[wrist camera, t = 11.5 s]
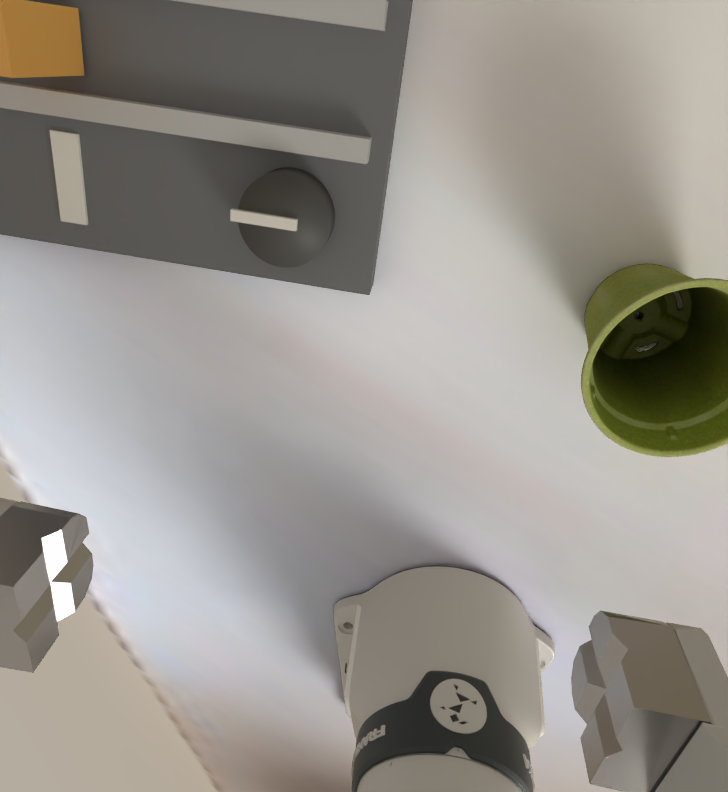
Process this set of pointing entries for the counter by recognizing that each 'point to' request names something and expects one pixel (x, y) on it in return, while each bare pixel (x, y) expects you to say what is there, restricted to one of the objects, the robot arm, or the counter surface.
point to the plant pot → (658, 361)
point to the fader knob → (39, 40)
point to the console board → (214, 136)
